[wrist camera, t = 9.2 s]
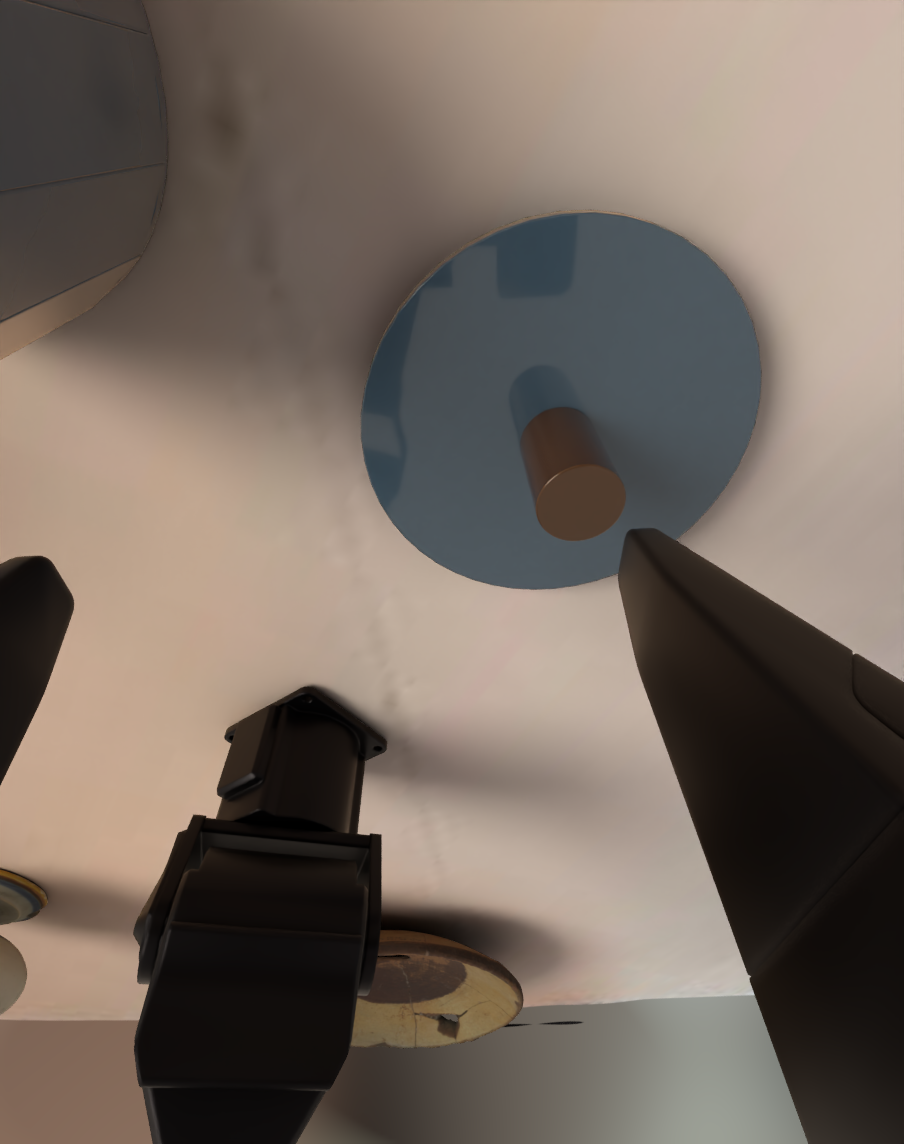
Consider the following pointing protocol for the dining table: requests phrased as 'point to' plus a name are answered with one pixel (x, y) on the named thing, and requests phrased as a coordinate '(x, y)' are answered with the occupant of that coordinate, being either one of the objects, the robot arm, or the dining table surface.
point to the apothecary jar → (3, 964)
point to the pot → (74, 157)
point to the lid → (559, 398)
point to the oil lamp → (433, 994)
